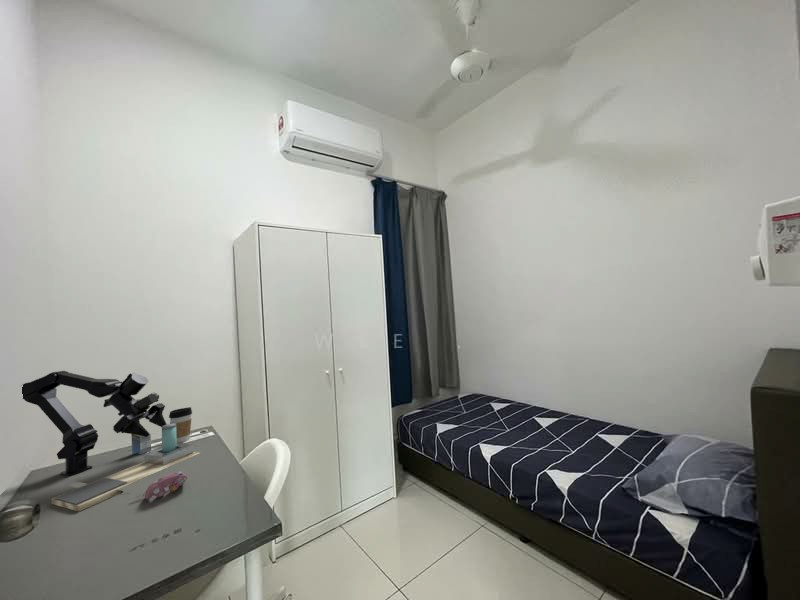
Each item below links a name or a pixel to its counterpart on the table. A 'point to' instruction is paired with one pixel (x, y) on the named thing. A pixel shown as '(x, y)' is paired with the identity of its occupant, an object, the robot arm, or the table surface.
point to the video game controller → (165, 484)
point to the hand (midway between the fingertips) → (157, 431)
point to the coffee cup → (181, 423)
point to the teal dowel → (169, 438)
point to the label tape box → (141, 444)
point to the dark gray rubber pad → (90, 491)
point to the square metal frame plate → (168, 455)
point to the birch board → (124, 475)
